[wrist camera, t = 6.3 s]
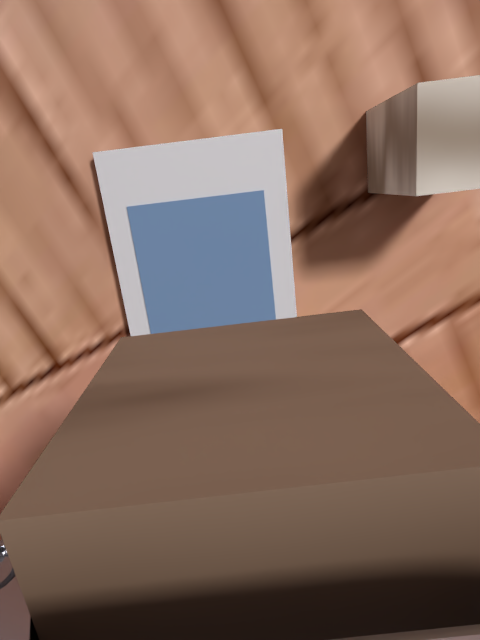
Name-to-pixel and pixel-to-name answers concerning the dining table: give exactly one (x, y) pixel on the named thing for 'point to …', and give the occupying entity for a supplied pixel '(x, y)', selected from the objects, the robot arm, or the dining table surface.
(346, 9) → the dining table surface
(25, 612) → the robot arm
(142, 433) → the walnut cube
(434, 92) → the ash pillar
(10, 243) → the dining table surface
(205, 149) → the board
